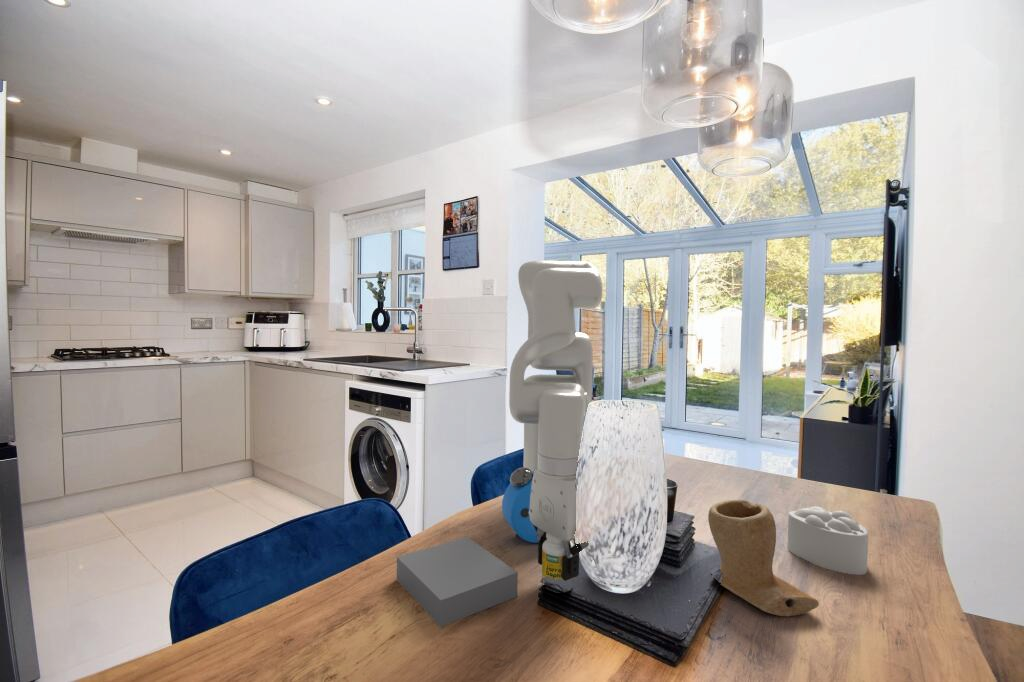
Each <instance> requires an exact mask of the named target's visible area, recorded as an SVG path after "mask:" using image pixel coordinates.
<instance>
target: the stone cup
mask: <svg viewBox="0 0 1024 682" xmlns="http://www.w3.org/2000/svg"><path fill="white" fill-rule="evenodd" d="M707 517H708V525H709V529H710V532H711V536H712V538H713V541H714V543H715V546H716V548H717V551H718V553H719V555H720V560H721V563H720V565H721V566H720V570H721V573H722V581H721V584H720V585H721V586H722V587H723V588H725V589H727V590H729V591H730V592H731V593H733V594H734V595H736V596H738V597H740V598H741V599H742V600H744V601H745V602H747V603H749V604H751V605H752V606H754V607H756V608H758V609H760V611H763V612H765V613H768V614H771V615H775V616H779V617H792V616H793V617H795V616H798V615H803V614H805V613H809V612H811V611H813V610H815V609H816V608H818V607H819V605H820V604H819V603H820V602H819V600H818V599H816V598H815V597H813V596H811V595H810V594H808V593H806V592H804V591H802V590H801V589H799V588H797V587H796V586H795V585H793V584H791V583H789V582H787V581H786V580H784V579H782V578H780V577H778V576H776V575H775V574H774V571H773V562H774V555H775V553H776V552H775V551H776V545H777V527H776V521H775V518H774V515H773V514H772V511H771V510H770V509H769V508H768V507H767V506H766V505H764V504H762V503H753V502H751V501H748V500H745V499H744V500H743V499H727V500H724V501H719V502H717V503H713V504H712V505H711V507H710V508H709V510H708V515H707Z"/></svg>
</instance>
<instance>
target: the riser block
mask: <svg viewBox="0 0 1024 682" xmlns="http://www.w3.org/2000/svg"><path fill="white" fill-rule="evenodd" d="M518 574H519V573H518V571H517V570H516V569H513V568H512V566H510V565H508V564H507V563H505V562H504V561H502V560H501V559H500V558H498V557H497V556H496V555H494V554H492V553H491V552H490V551H488V550H487V549H485V548H484V547H483V546H481V545H480V544H478V543H477V542H475V541H474V540H472V538H470V537H469V536H464V537H461V538H457V539H453V540H450V541H446V542H443V543H439V544H436V545H435V544H434V545H433V546H430V547H426V548H422V549H419V550H415V551H412V552H409V553H405V554H402V555H397V556H396V581H398V582H399V584H400V585H401V586H402V587H403V588H404V589H405V590H406V591H407V593H409V595H410V596H411V597H412V598H413V599H414V600H415V601H416V602H417V603H418V605H419V606H420V607H422V609H423V610H424V611H425V612H426V613H427V614H428V616H430V617H431V618H432V620H433V619H434V620H433V621H434V622H435V621H436V622H435V623H436V624H437V625H438V626H439V627H440V628H442V627H445V626H447V625H450V624H452V623H454V622H457V621H460V620H463V619H465V618H467V617H469V616H472V615H474V614H477V613H479V612H483V611H485V610H486V609H489V608H492V607H494V606H497V605H499V604H500V605H501V604H502V603H504V602H507V601H510V600H512V599H513V598H517V597H518V587H519V586H518V583H519V581H518V579H519V575H518Z"/></svg>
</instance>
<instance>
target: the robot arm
mask: <svg viewBox="0 0 1024 682" xmlns="http://www.w3.org/2000/svg"><path fill="white" fill-rule="evenodd" d="M517 274H518V276H517V277H518V279H517V280H518V285H519V289H520V292H521V295H522V298H523V301H524V303H525V306H526V310H527V321H528V322H527V340H525V342H524V343H523V344H522V345H520V347H519V349H518V350H517V352H516V354H515V355H514V358H513V359H512V362H511V365H510V369H509V370H510V372H509V392H508V395H509V397H508V398H509V399H508V401H509V402H508V403H509V411H510V415H511V417H512V419H514V421H516V422H517V423H520V424H523V464H522V465H523V467H525V468H528V469H530V470H531V471H534V469H535V471H534V475H533V480H532V486H531V495H530V510H529V512H528V513H529V516H530V521H531V522H532V524H533V525H534V528H535V530H536V532H537V533H536V538H537V540H539V541H538V543H537V544H538V545H537V547H538V548H537V549H538V550H537V563H538V564H539V565H540V566H542V546H543V543H544V541H545V540H547V538H546V533H548V534H550V535H552V536H553V537H555V538H557V539H559V540H561V541H563V544H564V550H565V555H564V556H563V557H562V579H563V580H564V581H567V580H569V579H572V578H574V579H575V578H576V577H578V576H579V572H580V554H579V552H580V551H582V550H583V549H585V548H586V547H588V546H589V543H588V541H587V543H586V542H584V543H581V544H580V543H579V544H576V543H575V536H574V534H575V531H576V491H577V485H578V479H576V471H577V467H578V463H579V461H578V462H577V460H578V456H579V449H580V443H581V436H582V430H583V431H584V429H583V426H584V427H585V425H584V423H585V422H584V420H585V416H586V415H587V414H586V412H587V407H588V404H589V403H590V402H591V403H592V395H593V368H594V367H593V366H594V365H593V364H594V363H593V362H594V361H593V360H594V351H593V350H594V349H593V348H594V347H593V343H592V340H591V337H589V335H588V334H586V333H584V332H580V331H576V318H575V310H576V309H577V310H578V309H579V310H580V309H583V310H584V309H585V310H587V309H589V310H590V309H591V310H593V309H596V308H598V307H599V305H600V304H601V302H602V299H603V280H602V278H601V275H600V273H599V271H598V270H597V268H596V266H594V265H593V264H592V263H591V262H588V261H579V260H577V261H576V260H573V261H571V260H531V261H527V262H525V263H523V264H521V266H520V267H519V269H518V273H517ZM529 366H530V367H531V368H533V369H537V370H541V371H570V372H572V373H573V374H570V375H569V374H563V375H562V374H533V375H530V376H527V377H526V378H525V372H526V369H527V368H528V367H529ZM587 413H588V412H587ZM582 439H583V440H582V441H583V442H584V437H583V438H582ZM575 480H576V490H575ZM570 541H573V545H574V546H572V547H571V543H570ZM576 545H577V546H576ZM577 547H578V548H577ZM588 548H589V547H588ZM586 549H587V548H586ZM586 549H585V550H586Z"/></svg>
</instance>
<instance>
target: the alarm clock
mask: <svg viewBox="0 0 1024 682" xmlns="http://www.w3.org/2000/svg"><path fill="white" fill-rule="evenodd" d="M534 471H535V469H534ZM534 471H531V470H530V469H528V468H525V467H519V468H517V469H515V470H514V471H513V472H512V473H511V475H510V478H509V479H510V480H509V482H510V483H509V484H508V486H507V487H506V489H505V491H504V493H503V497H502V502H501V512H502V514H503V518H504V519H505V521H506V523H507V525H508V526H509V527H510V529H512V531H514V532H515V537H518V536H519V537H520V538H521V539H522V540H524V541H525V542H528V543H534V544H538V541H539V540H537V538H536V533H537V532H536V530H535V528H534V525H533V524H532V522H531V521H530V516H529V513H528V512H529V510H530V495H531V486H532V480H533V475H534Z"/></svg>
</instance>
